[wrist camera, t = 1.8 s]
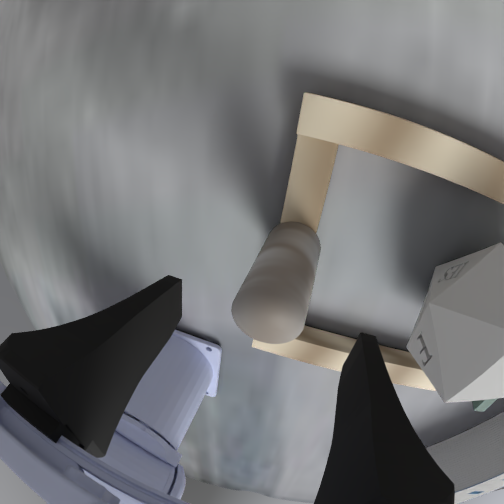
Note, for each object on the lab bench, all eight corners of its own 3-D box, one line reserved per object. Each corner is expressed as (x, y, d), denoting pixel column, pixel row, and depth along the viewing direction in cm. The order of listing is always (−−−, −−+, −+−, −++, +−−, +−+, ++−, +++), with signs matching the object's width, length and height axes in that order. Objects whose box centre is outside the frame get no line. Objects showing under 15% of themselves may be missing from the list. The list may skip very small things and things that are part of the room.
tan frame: (251, 330, 23) (218, 404, 17) (297, 90, 14) (263, 90, 8) (478, 383, 19) (489, 451, 14) (584, 212, 10) (641, 266, 5)
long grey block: (402, 489, 34) (398, 529, 28) (352, 467, 32) (343, 517, 26) (576, 407, 18) (587, 452, 11) (570, 361, 16) (591, 420, 9)
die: (464, 190, 14) (392, 321, 11) (579, 257, 9) (550, 420, 6) (435, 276, 20) (366, 382, 17) (522, 329, 15) (470, 449, 12)
